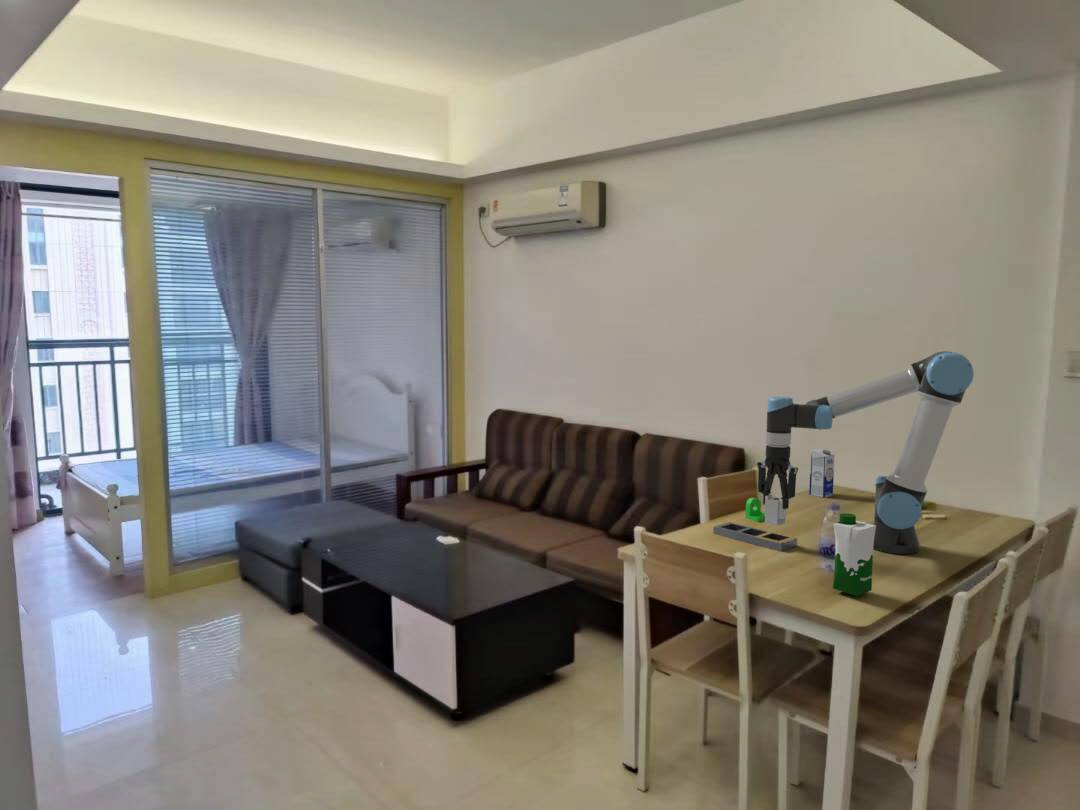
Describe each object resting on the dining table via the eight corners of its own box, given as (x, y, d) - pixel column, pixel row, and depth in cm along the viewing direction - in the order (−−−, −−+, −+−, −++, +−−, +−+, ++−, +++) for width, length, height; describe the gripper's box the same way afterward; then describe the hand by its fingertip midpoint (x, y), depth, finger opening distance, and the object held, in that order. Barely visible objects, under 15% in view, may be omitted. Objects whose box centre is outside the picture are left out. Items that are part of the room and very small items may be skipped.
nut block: (784, 523, 236) (786, 498, 235) (777, 525, 233) (778, 500, 232) (772, 520, 239) (773, 496, 238) (764, 522, 236) (765, 498, 235)
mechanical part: (757, 523, 264) (757, 501, 263) (745, 519, 269) (745, 498, 268) (781, 519, 269) (782, 498, 268) (769, 515, 274) (770, 494, 274)
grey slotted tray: (796, 545, 236) (797, 537, 235) (781, 551, 230) (781, 543, 230) (729, 529, 256) (729, 521, 255) (713, 533, 250) (713, 526, 250)
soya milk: (845, 581, 203) (848, 510, 201) (877, 591, 195) (880, 517, 193) (827, 588, 198) (830, 515, 195) (859, 598, 190) (862, 523, 188)
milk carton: (817, 494, 307) (819, 447, 305) (833, 497, 302) (834, 449, 300) (808, 497, 303) (810, 449, 300) (824, 500, 297) (826, 451, 295)
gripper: (809, 447, 229) (806, 520, 232) (760, 440, 242) (758, 509, 245) (796, 450, 224) (793, 524, 227) (747, 442, 238) (744, 513, 240)
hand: (775, 516), depth 236 cm, fingers closed on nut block, 4 cm apart
